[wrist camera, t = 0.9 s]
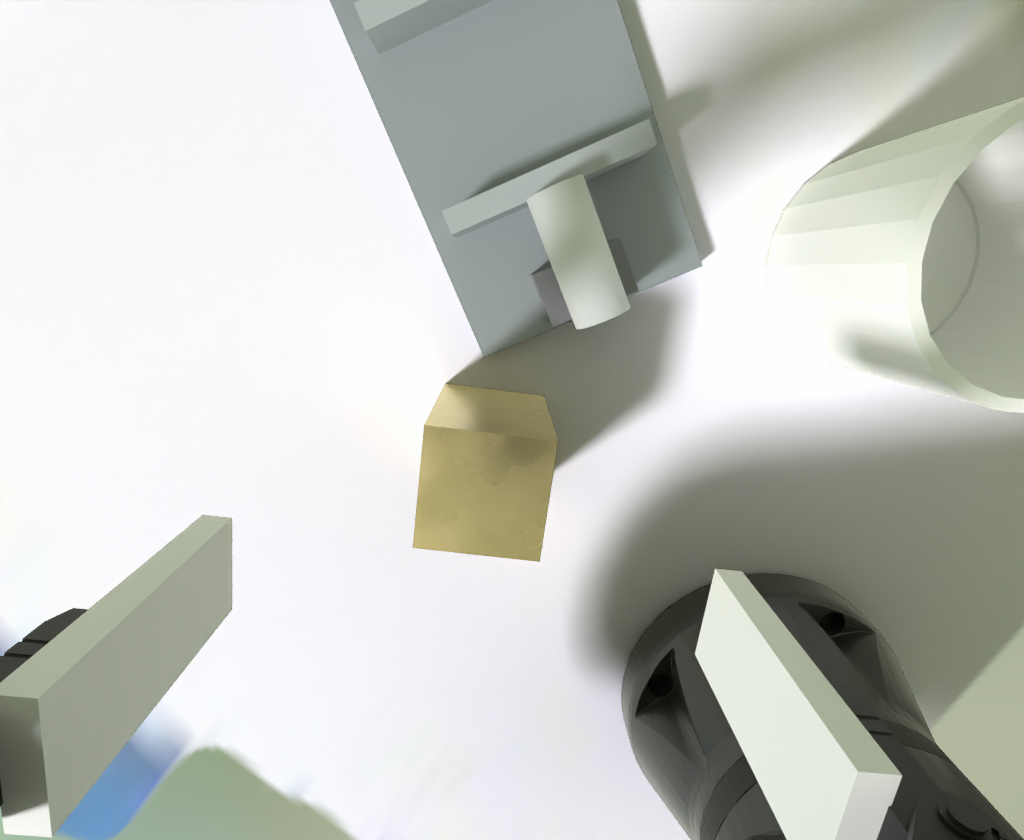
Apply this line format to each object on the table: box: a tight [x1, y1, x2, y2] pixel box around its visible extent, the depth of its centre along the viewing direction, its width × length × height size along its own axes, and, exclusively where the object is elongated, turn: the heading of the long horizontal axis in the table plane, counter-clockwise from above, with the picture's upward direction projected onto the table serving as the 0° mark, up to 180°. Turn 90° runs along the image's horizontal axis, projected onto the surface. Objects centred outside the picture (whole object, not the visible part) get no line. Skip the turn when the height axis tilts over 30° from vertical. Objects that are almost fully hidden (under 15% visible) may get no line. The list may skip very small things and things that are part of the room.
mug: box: [765, 97, 1024, 413], centre depth 23 cm, size 13×10×10 cm
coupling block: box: [413, 384, 558, 562], centre depth 26 cm, size 5×5×8 cm
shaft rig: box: [330, 0, 702, 357], centre depth 23 cm, size 20×11×5 cm, turn 23°
